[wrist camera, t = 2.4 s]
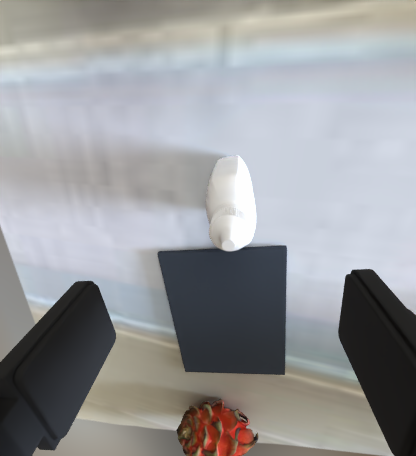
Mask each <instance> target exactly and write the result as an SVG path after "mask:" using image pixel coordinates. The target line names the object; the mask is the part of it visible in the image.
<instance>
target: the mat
mask: <svg viewBox="0 0 416 456" xmlns="http://www.w3.org/2000/svg"><path fill="white" fill-rule="evenodd" d="M158 258H159V262H160V266H161V271H162V275H163V279H164V283H165V288H166V292H167V296H168V300H169V304H170V309H171V313H172V317H173V321H174V326H175V330H176V334H177V338H178V342H179V347H180V351H181V355H182V359H183V364H184V368H185V372H211V373H243V374H276V375H285V324H286V264H287V248H286V246H267V247H245V248H241V249H238V250H236V251H225V250H221V249H202V250H180V251H159V252H158Z"/></svg>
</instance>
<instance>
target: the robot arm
mask: <svg viewBox="0 0 416 456" xmlns="http://www.w3.org/2000/svg"><path fill="white" fill-rule="evenodd" d="M338 333H339V338H340V341H341V344H342V346H343V348H344V350H345V352H346V355H347V357H348V359H349V361H350V363H351V365H352V368H353V370H354V372H355V374H356V376H357V378H358V381H359V383H360V385H361V387H362V389H363V391H364V394H365V396H366V398H367V400H368V402H369V404H370V407H371V409H372V411H373V413H374V415H375V417H376V420H377V422H378V424H379V426H380V428H381V430H382V433H383V435H384V437H385V439H386V441H387V443H388V446H389V448H390V450H391V452H392V453H393V454H394V455H395V456H416V315H415V314H414V313H413V312H411V311H410V310H409V309H407V308H406V307H405V306H404V305H403V304H402V303H401V301H400V300H399V299H398V298H397V297H396V296H395V295H394V293H393V292H392V291H391V290H390V289H389V288H388V287H387V285H386V284H385V283H384V282H383V281H382V280H381V279H380V277H379V276H378V275H377V274H376V273H375V272H374V271H373V270H372V269H362V270H352V271H351V274H347V275H346V278H345V285H344V292H343V300H342V307H341V315H340V322H339V330H338ZM115 339H116V333H115V330H114V327H113V324H112V322H111V319H110V317H109V314H108V311H107V309H106V306H105V303H104V301H103V298H102V295H101V293H100V290H99V287H98V286H97V285H96V284H94V282H92V281H78V282H75V283H74V284H73V285H72V286H71V287H70V288H69V289H68V290H67V292H66V293H65V294H64V295H63V296H62V297H61V298H60V299H59V300H58V301H57V302H56V303H55V304H54V305H53V307H52V308H51V309H50V310H49V311H48V312H47V313H46V314H45V315H44V316H43V317H42V318H41V319H40V320H39V321H38V323H37V324H36V325H35V326H34V327H33V328H32V329H31V330H30V331H29V332H28V333H27V334H26V336H24V338H23V339H22V340H21V341H20V342H19V343H18V344H17V345H16V346H15V347H14V348H13V349H12V351H10V353H9V354H8V355H7V356H6V357H5V358H4V359H3V360H2V361H1V362H0V456H32V454H33V453H34V451H35V449H36V448H37V447H38V448H39V449H41V450H55V449H56V447H57V445H58V443H59V442H60V440H61V439H62V438H63V437H64V436H65V435H66V434H67V432H68V431H69V429H70V427H71V425H72V423H73V421H74V420H75V418H76V416H77V414H78V412H79V410H80V408H81V406H82V404H83V402H84V400H85V398H86V396H87V395H88V393H89V391H90V389H91V387H92V385H93V383H94V381H95V379H96V377H97V375H98V373H99V371H100V370H101V368H102V366H103V364H104V362H105V360H106V358H107V356H108V354H109V352H110V350H111V348H112V347H113V345H114V343H115Z"/></svg>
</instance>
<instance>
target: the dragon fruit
mask: <svg viewBox="0 0 416 456" xmlns="http://www.w3.org/2000/svg"><path fill="white" fill-rule="evenodd" d="M216 404H217V405H216ZM215 405H216V406H215ZM238 411H239V410H238V409H237V410H236V411H231V410H230V409H227V408H226V409H224V401H223V400H222V399H220V400H218V401H215V402H213V404H212V405H210V403H209V402H203V403H202V404H201V405H200V409H199V408H197V407H195V406H191V407H189V410H188V411H186V412H185V414H184V415H183V419H182V421H181V424H180V425H179V427H178V429H177V433H178V439H179V442H180V444H181V445H182V446H183V451H184V453H185V455H186V456H242V455H244V454H245V453H247V451H248V450H249V449H250V448H251V447H253V446H254V445H255V443H256V442H257V441H256V440H258V433H257V434H256V436H255V437H254V434H253V432H252V430H251V429H246V426H247V425H249V424H250V422H249V419H248V418H247V417H246V416H245V415H244V414H243V413H242V412H240V411H239V412H238ZM240 416H241V417H243V418H244V419H246V421H247V422H246V421H244V420H242V419H241V418H240Z"/></svg>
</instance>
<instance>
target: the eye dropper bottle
mask: <svg viewBox="0 0 416 456" xmlns="http://www.w3.org/2000/svg"><path fill="white" fill-rule="evenodd" d="M206 211H207V217H208V221H209V224H210V228H209V235H210V239H211V241H212V242H213V244H215V246H216V247H218V248H219V249H221V250H225V251H236V250H238V249H241V248H242V247H243V246H245V245H248V244H249V243H250V242H251V240H252V238H253V235H254V232H255V227H256V208H255V201H254V195H253V189H252V183H251V178H250V175H249V172H248V169H247V167H246V165H245V163H244V161H243V160H242V158H241V157H239V156H237V155H234V156H228V157H224V158H220V159H219V160H218V161H217V162H216V165H215V167H214V169H213V172H212V174H211V177H210V180H209V183H208V187H207V194H206Z"/></svg>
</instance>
